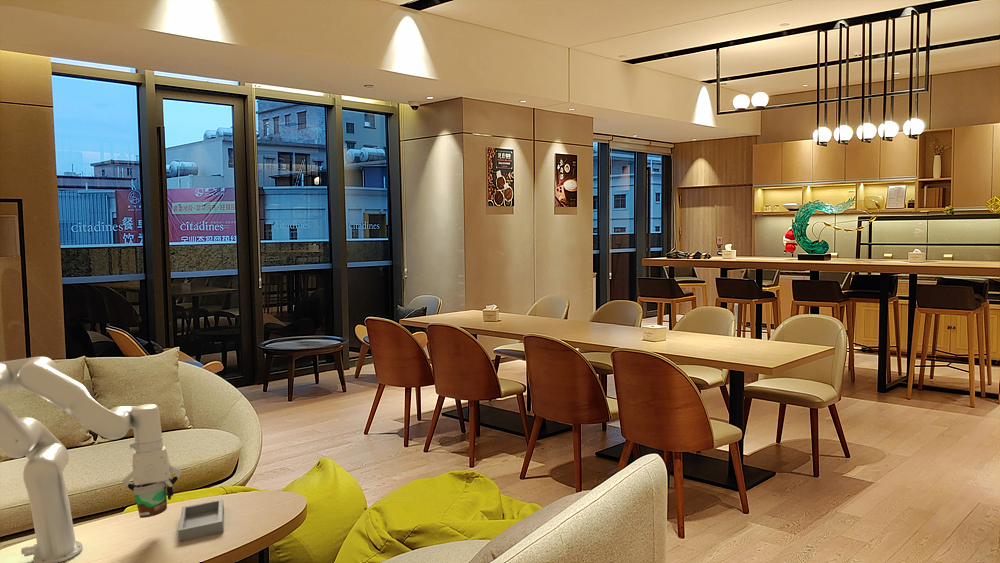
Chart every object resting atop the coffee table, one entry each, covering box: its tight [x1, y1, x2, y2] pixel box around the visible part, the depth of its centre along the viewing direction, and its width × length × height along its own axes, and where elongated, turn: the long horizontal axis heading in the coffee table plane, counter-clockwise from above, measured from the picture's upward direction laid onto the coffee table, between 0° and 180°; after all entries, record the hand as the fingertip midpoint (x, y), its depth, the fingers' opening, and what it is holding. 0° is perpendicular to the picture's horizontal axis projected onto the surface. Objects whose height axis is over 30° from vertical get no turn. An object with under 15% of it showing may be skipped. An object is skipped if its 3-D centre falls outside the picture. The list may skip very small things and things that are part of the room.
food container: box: [132, 482, 168, 519], centre depth 226 cm, size 12×6×10 cm, turn 170°
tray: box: [177, 498, 225, 543], centre depth 231 cm, size 12×18×4 cm
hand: (155, 500), depth 226 cm, fingers closed on food container, 7 cm apart
